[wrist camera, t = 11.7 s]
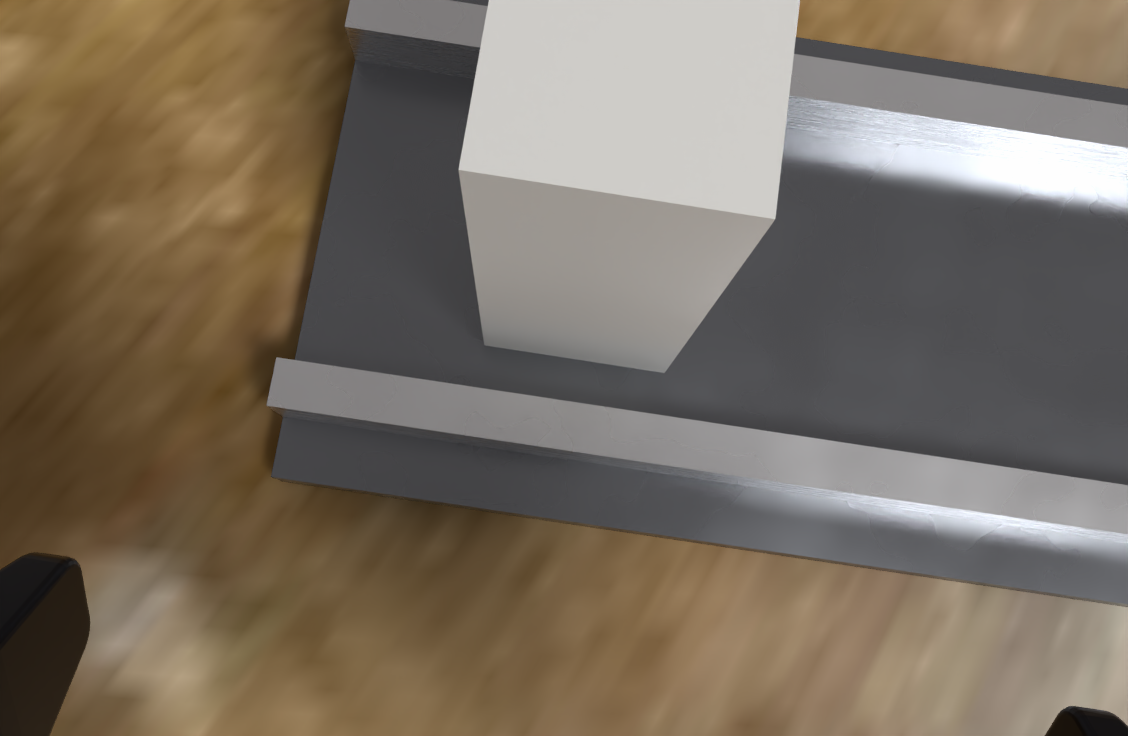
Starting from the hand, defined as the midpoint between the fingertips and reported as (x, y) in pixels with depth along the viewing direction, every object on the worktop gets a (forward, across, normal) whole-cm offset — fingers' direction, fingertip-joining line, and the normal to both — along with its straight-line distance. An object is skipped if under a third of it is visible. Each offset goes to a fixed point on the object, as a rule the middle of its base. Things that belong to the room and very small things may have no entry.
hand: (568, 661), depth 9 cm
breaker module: (+14, 0, +3) cm, 15 cm away
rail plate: (+15, -4, +4) cm, 16 cm away
